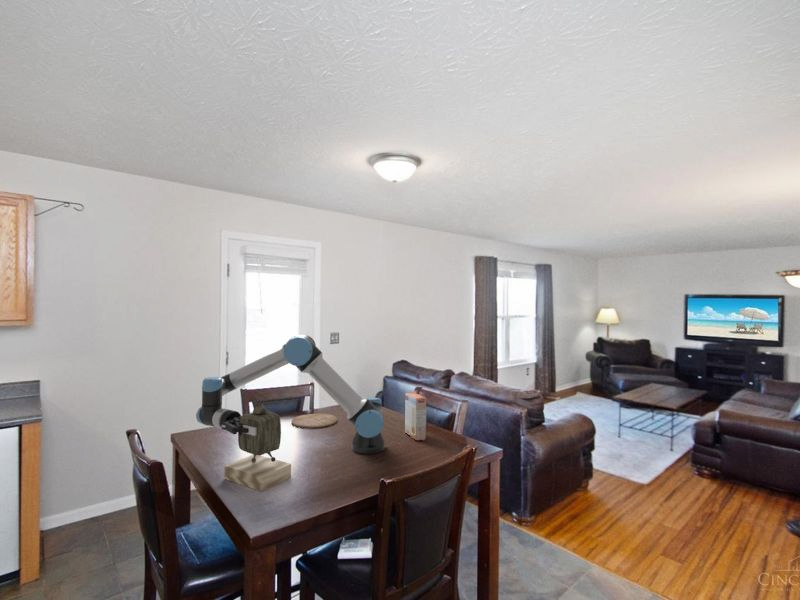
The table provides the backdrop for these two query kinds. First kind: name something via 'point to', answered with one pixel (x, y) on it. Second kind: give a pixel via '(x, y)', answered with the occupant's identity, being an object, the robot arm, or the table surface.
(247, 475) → the maple base
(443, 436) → the table surface
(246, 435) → the tabletop clock
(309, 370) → the robot arm
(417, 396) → the cracker box
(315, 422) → the trivet
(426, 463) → the table surface
